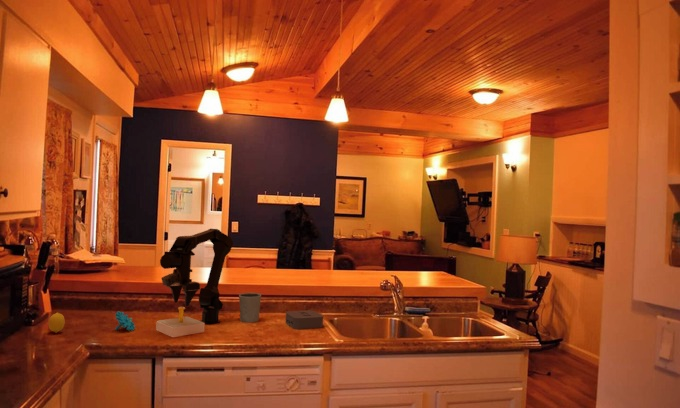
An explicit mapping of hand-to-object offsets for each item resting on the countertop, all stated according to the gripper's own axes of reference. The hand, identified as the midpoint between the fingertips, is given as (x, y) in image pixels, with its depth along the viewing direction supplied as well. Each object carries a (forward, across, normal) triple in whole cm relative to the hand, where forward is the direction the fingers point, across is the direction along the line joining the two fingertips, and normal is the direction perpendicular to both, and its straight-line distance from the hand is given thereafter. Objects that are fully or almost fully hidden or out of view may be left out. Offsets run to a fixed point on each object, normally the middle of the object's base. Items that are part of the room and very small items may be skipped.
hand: (181, 304), depth 199 cm
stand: (+11, 0, 0) cm, 11 cm away
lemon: (+11, -25, -39) cm, 48 cm away
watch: (+7, 0, 0) cm, 7 cm away
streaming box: (+11, +22, +49) cm, 55 cm away
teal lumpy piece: (+11, -15, -16) cm, 25 cm away
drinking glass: (+11, +1, +34) cm, 36 cm away
